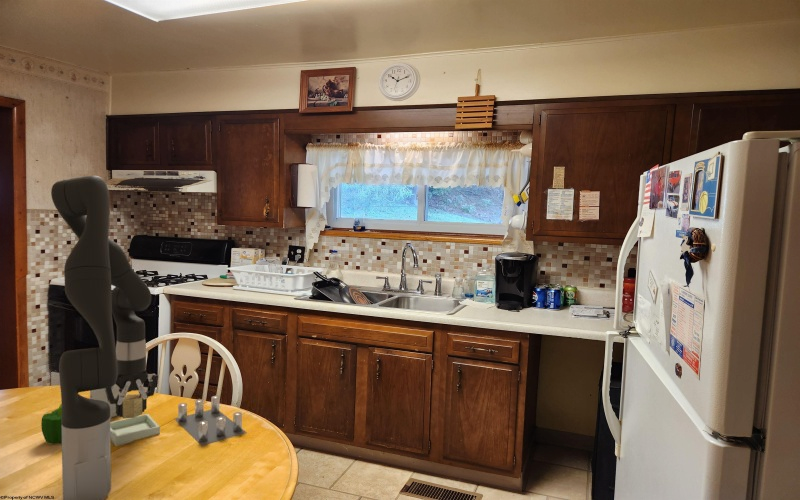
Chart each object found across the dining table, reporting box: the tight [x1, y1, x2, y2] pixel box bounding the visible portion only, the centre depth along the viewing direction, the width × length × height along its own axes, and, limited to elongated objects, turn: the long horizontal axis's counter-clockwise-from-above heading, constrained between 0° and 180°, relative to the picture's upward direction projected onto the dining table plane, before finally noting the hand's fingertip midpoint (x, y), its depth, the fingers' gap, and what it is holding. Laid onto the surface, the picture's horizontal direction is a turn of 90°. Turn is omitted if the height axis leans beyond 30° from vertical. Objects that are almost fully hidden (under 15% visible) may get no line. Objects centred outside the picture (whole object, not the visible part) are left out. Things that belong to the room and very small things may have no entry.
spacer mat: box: [174, 409, 247, 447], centre depth 149 cm, size 22×13×1 cm, turn 43°
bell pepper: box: [40, 403, 62, 445], centre depth 137 cm, size 8×8×10 cm
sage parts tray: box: [110, 413, 161, 447], centre depth 143 cm, size 11×11×2 cm
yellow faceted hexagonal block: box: [121, 393, 143, 419], centre depth 142 cm, size 6×5×5 cm
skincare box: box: [89, 384, 119, 419], centre depth 155 cm, size 8×7×16 cm
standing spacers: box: [177, 395, 243, 442], centre depth 148 cm, size 18×12×5 cm
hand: (131, 413), depth 142 cm, fingers closed on yellow faceted hexagonal block, 5 cm apart
